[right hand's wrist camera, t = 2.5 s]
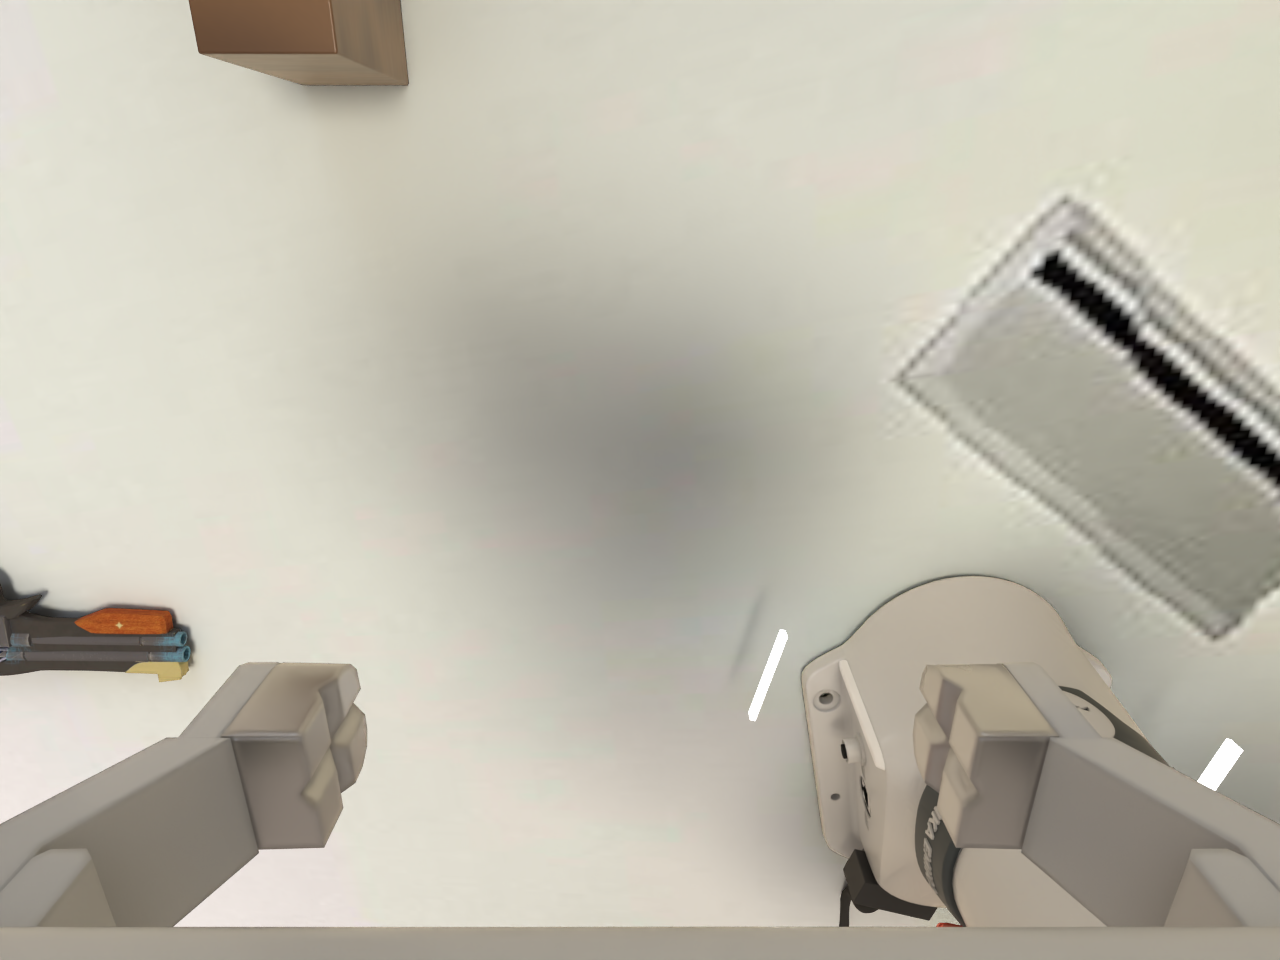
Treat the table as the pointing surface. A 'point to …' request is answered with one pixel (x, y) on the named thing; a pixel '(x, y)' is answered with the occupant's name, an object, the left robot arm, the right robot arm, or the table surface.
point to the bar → (306, 39)
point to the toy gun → (91, 641)
